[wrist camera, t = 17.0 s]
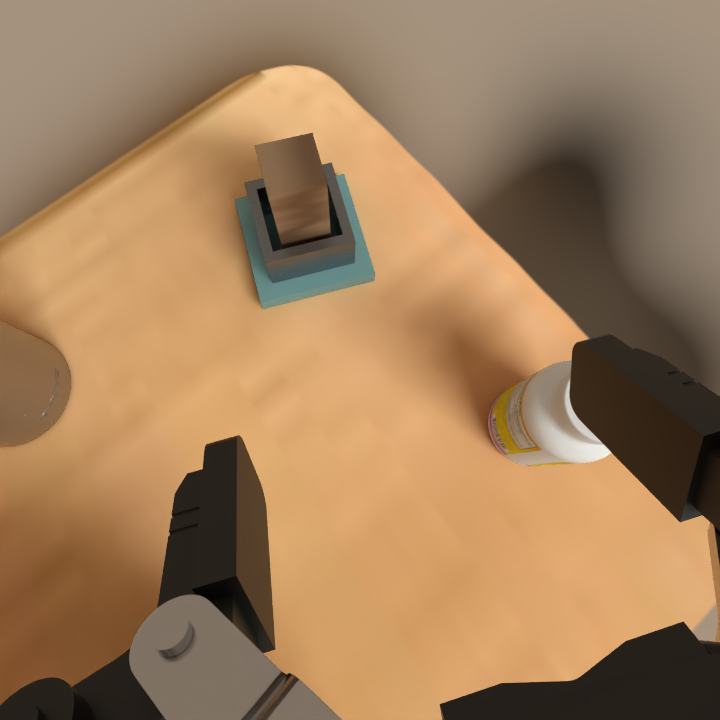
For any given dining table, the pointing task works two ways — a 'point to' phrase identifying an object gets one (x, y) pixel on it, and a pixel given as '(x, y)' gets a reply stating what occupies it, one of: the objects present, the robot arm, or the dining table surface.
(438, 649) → the dining table surface
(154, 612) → the robot arm
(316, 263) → the square socket frame
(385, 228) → the dining table surface
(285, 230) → the rail post
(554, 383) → the supplement bottle
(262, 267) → the plate
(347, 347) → the dining table surface
